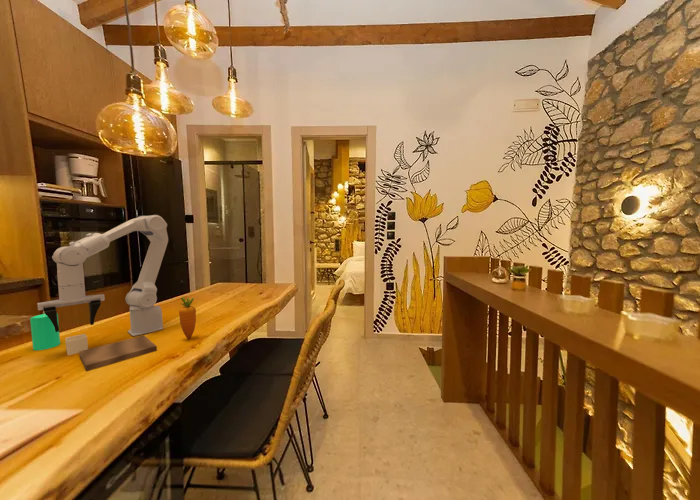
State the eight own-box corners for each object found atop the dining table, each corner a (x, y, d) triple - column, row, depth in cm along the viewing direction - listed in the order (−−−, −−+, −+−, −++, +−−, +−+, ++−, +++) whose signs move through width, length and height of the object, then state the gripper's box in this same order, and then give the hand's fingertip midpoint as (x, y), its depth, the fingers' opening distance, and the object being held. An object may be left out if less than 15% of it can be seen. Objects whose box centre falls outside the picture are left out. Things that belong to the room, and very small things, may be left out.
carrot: (200, 337, 95) (198, 295, 94) (188, 342, 91) (185, 298, 90) (190, 335, 97) (187, 294, 96) (177, 340, 92) (174, 297, 91)
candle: (41, 351, 86) (38, 314, 85) (27, 349, 87) (24, 313, 86) (65, 343, 92) (62, 308, 91) (51, 342, 93) (48, 307, 92)
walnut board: (144, 339, 94) (144, 335, 94) (156, 350, 85) (156, 345, 85) (79, 356, 82) (79, 351, 82) (86, 371, 73) (85, 365, 73)
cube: (86, 346, 89) (85, 333, 88) (88, 350, 86) (87, 336, 85) (66, 351, 85) (65, 337, 85) (67, 355, 82) (66, 341, 82)
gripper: (100, 280, 92) (103, 319, 93) (35, 287, 81) (39, 331, 82) (104, 282, 88) (107, 323, 89) (36, 290, 77) (40, 336, 77)
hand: (75, 327), depth 85 cm, fingers open, 7 cm apart
